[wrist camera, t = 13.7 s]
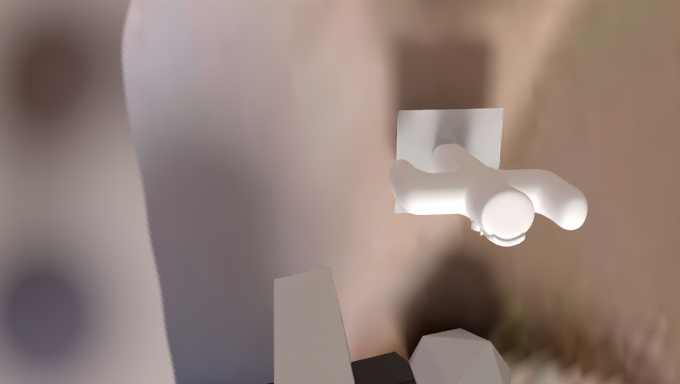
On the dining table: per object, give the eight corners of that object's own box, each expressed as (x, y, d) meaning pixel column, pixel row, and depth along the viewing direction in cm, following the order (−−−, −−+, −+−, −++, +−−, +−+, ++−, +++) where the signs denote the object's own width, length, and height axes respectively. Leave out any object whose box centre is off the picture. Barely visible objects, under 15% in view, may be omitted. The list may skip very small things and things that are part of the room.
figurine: (372, 101, 43) (421, 155, 29) (500, 98, 44) (607, 149, 30) (371, 196, 45) (415, 290, 31) (492, 192, 46) (589, 280, 32)
